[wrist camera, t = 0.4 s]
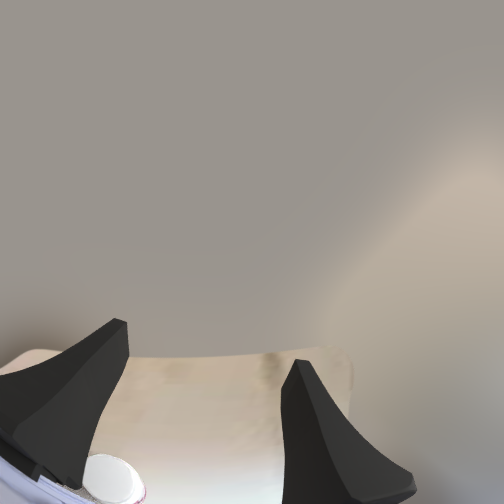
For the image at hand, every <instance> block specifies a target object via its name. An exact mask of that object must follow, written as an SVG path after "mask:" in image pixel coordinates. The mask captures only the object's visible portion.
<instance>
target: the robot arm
mask: <svg viewBox="0 0 504 504" xmlns="http://www.w3.org/2000/svg"><path fill="white" fill-rule="evenodd" d="M128 358H129V345H128V334H127V322H125V321H122V320H119V319H116V318H114V319H112V320H111V321H109V322H108V323H106V324H105V325H103V326H102V327H101V328H99V329H98V330H96V331H95V332H94V333H92V334H91V335H89V336H88V337H86V338H85V339H83V340H82V341H80V342H79V343H77V344H75V345H74V346H72V347H70V348H69V349H67V350H65V351H64V352H62V353H60V354H58V355H57V356H55V357H53V358H51V359H48V360H46V361H44V362H42V363H40V364H37V365H34V366H32V367H29V368H26V369H23V370H20V371H17V372H13V373H9V374H5V375H0V504H96V503H93V502H91V501H89V500H87V499H85V498H83V497H80V496H78V495H76V494H74V493H72V492H70V491H69V490H67V489H65V488H63V487H61V486H59V485H57V484H56V482H57V483H59V484H61V485H63V486H64V485H66V486H68V487H70V488H72V489H74V490H77V489H80V488H82V482H83V476H84V471H85V466H86V461H87V457H88V453H89V449H90V446H91V442H92V439H93V436H94V433H95V430H96V427H97V424H98V421H99V418H100V416H101V414H102V412H103V410H104V408H105V406H106V404H107V402H108V400H109V398H110V396H111V394H112V392H113V391H114V389H115V387H116V385H117V383H118V381H119V379H120V377H121V375H122V373H123V371H124V368H125V366H126V363H127V360H128ZM281 419H282V430H283V440H284V451H285V469H284V487H283V498H282V504H398V503H400V502H402V501H404V500H406V499H408V498H409V497H411V496H413V495H414V494H415V493H416V491H417V488H416V485H415V481H414V478H413V475H412V473H410V472H408V471H407V470H405V469H403V468H402V467H400V466H398V465H397V464H395V463H394V462H392V461H391V460H389V459H388V458H387V457H385V456H384V455H383V454H381V453H380V452H379V451H378V450H376V449H375V448H374V447H373V446H372V445H371V444H370V443H369V442H368V441H367V440H365V439H364V438H363V437H362V436H361V435H360V434H359V432H358V431H357V430H356V429H355V428H354V427H353V426H352V425H351V424H350V422H349V421H348V420H347V419H346V417H345V416H344V415H343V413H342V412H341V411H340V409H339V408H338V407H337V405H336V404H335V402H334V401H333V399H332V398H331V396H330V395H329V393H328V392H327V390H326V388H325V387H324V385H323V384H322V382H321V380H320V378H319V377H318V375H317V373H316V372H315V370H314V368H313V366H312V365H311V363H310V362H309V361H307V360H299V359H295V361H294V363H293V365H292V368H291V370H290V372H289V374H288V376H287V378H286V380H285V382H284V384H283V386H282V388H281Z"/></svg>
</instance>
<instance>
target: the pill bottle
mask: <svg viewBox="0 0 504 504" xmlns="http://www.w3.org/2000/svg"><path fill="white" fill-rule="evenodd" d="M82 483H83V485H84V487H85V488H86V490H87V491H88V492H89V493H90V494H91V495H92V496H93V498H95V499H96V500H97V501H99V502H100V503H102V504H142V503H143V501H144V499H145V497H146V488H145V485H144V482H143V481H142V479H141V478H140V476H139V475H138V474H137V472H136V471H135V470H134V468H133V467H132V466H131V465H129V464H128V463H127V462H125V461H123V460H122V459H119V458H117V457H114V456H111V455H107V454H95V455H92V456H90V457H88V458H87V461H86V466H85V471H84V476H83V482H82Z"/></svg>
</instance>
